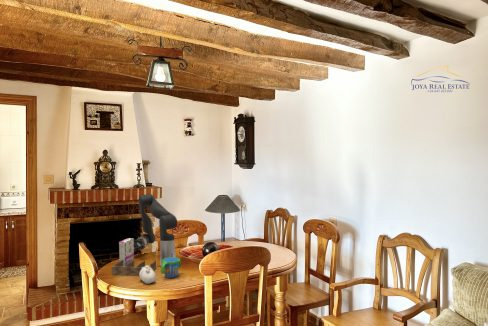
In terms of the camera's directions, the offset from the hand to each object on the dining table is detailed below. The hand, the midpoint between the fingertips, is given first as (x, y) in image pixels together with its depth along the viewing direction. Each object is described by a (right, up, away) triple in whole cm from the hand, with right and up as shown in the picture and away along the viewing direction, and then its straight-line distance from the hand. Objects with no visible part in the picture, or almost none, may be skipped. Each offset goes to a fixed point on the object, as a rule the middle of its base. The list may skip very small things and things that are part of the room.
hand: (130, 248), depth 252 cm
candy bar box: (-1, -9, -6) cm, 11 cm away
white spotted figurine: (+22, -10, -40) cm, 47 cm away
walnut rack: (+9, -9, -22) cm, 25 cm away
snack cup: (+34, -9, -31) cm, 47 cm away
